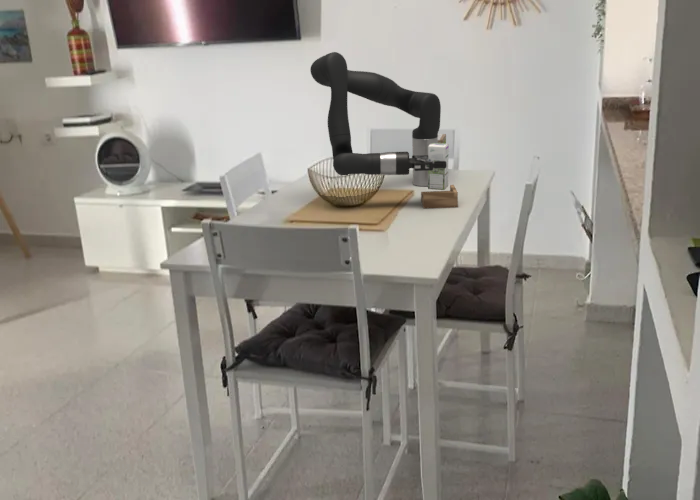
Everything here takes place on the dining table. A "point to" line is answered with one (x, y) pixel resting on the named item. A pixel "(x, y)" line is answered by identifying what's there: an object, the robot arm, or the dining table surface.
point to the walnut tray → (440, 198)
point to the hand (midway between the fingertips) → (444, 162)
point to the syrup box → (438, 175)
